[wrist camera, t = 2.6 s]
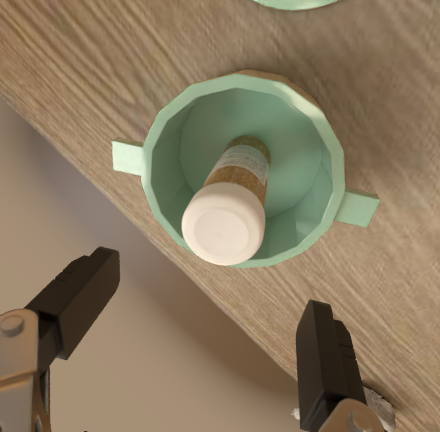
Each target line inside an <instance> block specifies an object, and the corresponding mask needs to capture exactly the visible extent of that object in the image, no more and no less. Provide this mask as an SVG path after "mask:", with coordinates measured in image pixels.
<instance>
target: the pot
mask: <svg viewBox="0 0 440 432" xmlns="http://www.w3.org/2000/svg"><path fill="white" fill-rule="evenodd" d="M245 135H249V136H254V137H256V138H258V139H260V140H261V141H263V142H264V143H265V144H266V146H267V147H268V149H269V152H270V155H271V165H270V168H269V179H268V187H267V191H266V198H265V204H264V212H265V230H264V237H263V241H262V244H261V246H260V248H259V249H258V251H257V252H256V253H255V254H254V255H253V256H252V257H251V258H249V259H248V260H246V261H244V262H242V263H239V264H235V265H226V266H230V267H234V268H250V267H265V266H273V265H275V264H278V263H280V262H283V261H285V260H287V259H290V258H292V257H294V256H297V255H299V254H301V253H303V252H305V251H306V250H307V249H308V248H310V247H311V246H312V245H313V244H314V243H315V242H316V241H317V240H318V239H319V238H320V237H321V236H322V235H323V234H324V233H325V232H326V231H327V230H328V229H329V228H330V226H331V225H332V222H333V220H335V221H340V222H344V223H349V224H353V225H357V226H362V227H368V225H369V223H370V221H371V219H372V217H373V215H374V213H375V211H376V209H377V207H378V205H379V203H380V201H381V199H380V198H379V196H378V195H377V194H374V193H369V192H364V191H360V190H355V189H351V188H346V187H345V167H344V151H343V148H342V146H341V144H340V142H339V140H338V138H337V137H336V135H335V133H334V131H333V129H332V127H331V125H330V124H329V122H328V120H327V118H326V116H325V114H324V112H323V111H322V109H321V108H320V107H319V105H318V104H317V103H316V101H315V100H314V98H313V97H312V96H311V95H309V94H308V93H307V92H305V91H304V90H302V89H301V88H300V87H299V86H297V85H296V84H294V83H293V82H292V81H290V80H289V79H287V78H286V77H285V76H283V75H278V74H273V73H268V72H262V71H257V70H252V69H245V70H241V71H237V72H233V73H229V74H225V75H221V76H217V77H214V78H210V79H207V80H204V81H201V82H198V83H194V84H192V85H190V86H189V87H188V88H186V89H185V90H184V91H183V92H182V93H180V94H179V95H178V96H177V97H176V98H174V99H173V100H172V101H171V102H169V103H168V104H167V105H166V106H165V107H163V108H162V109H161V110H160V111H159V112H158V114H157V116H156V118H155V121H154V123H153V125H152V127H151V129H150V131H149V133H148V135H147V138H146V140H145V142H144V143H141V142H137V141H132V140H128V139H123V138H116V139H114V140H112V158H113V170H116V171H121V172H125V173H130V174H134V175H138V176H141V183H142V186H143V189H144V192H145V194H146V197H147V200H148V203H149V205H150V208H151V211H152V213H153V216H154V217H155V218H156V220H157V221H158V222H159V223H160V224H161V226H162V227H163V228H164V229H165V230H166V231H167V233H168V234H169V235H170V236H171V237H172V239H173V240H174V241H175V242H176V243H177V244H179V245H181V246H182V247H184V248H185V249H187V250H189V251H190V252H192V253H194V252H193V251H192V250H191V249H190V248H189V246H188V245H187V243H186V241H185V239H184V237H183V233H182V218H183V215H184V212H185V210H186V208H187V207H188V205H189V203H190V201H191V200H192V198H193V197H194V195H195V194H196V193H197V192H198V191H199V190H201V189H202V188H203V186H204V184H205V181H206V179H207V178H208V176H209V175H210V173H211V171H212V170H213V168H214V167H215V165H216V163H217V162H218V160H219V158H220V157H221V156H222V154H223V153H224V150H225V148H226V146H227V145H228V144H229V142H231V141H232V140H233V139H235V138H237V137H240V136H245ZM194 254H195V253H194ZM195 255H196V254H195ZM198 257H199V256H198ZM203 260H204V259H203Z"/></svg>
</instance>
